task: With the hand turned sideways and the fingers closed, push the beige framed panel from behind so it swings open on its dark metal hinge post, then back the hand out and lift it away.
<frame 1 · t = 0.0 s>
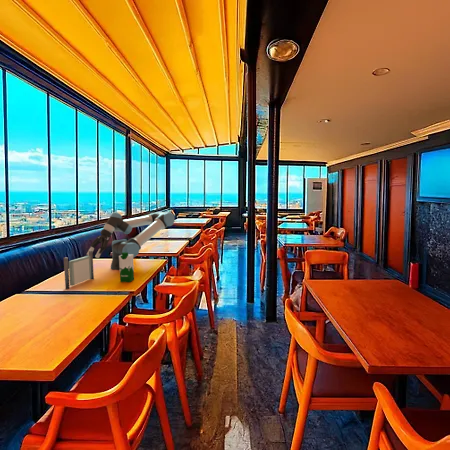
hand: (92, 256, 243), 15 cm above the table, tool tilted 35°, fingers open, 13 cm apart
beige framed panel: (80, 270, 227), point 9 cm above the table, hinge at 0.0°
milk carton: (127, 281, 233), on the table
gate posts: (92, 279, 239), on the table
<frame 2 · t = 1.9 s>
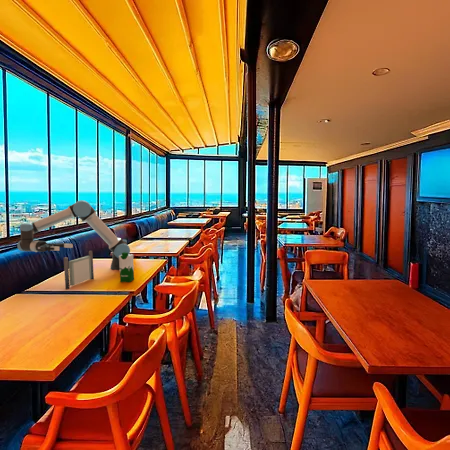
hand: (65, 247, 228), 24 cm above the table, tool horizontal, fingers open, 12 cm apart
nothing on the table moved.
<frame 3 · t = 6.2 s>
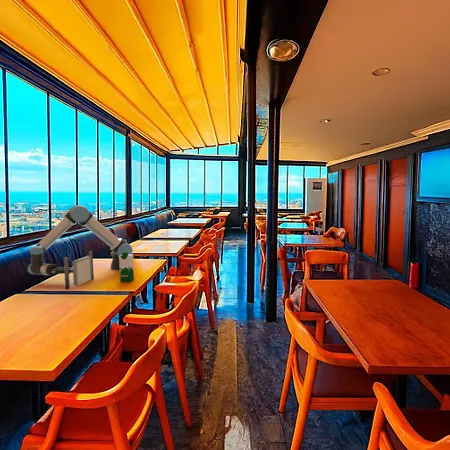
hand: (79, 271, 225), 9 cm above the table, tool horizontal, fingers closed
beige framed panel: (82, 270, 227), point 9 cm above the table, hinge at 7.7°, touching gripper
everything else where it was.
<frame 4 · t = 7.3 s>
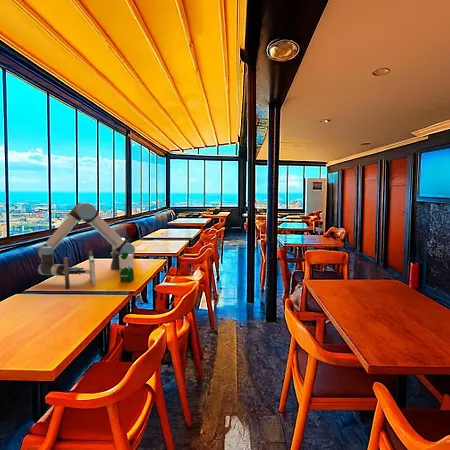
hand: (90, 271, 223), 9 cm above the table, tool horizontal, fingers closed
beige framed panel: (92, 269, 228), point 9 cm above the table, hinge at 38.4°, touching gripper
everything else where it was.
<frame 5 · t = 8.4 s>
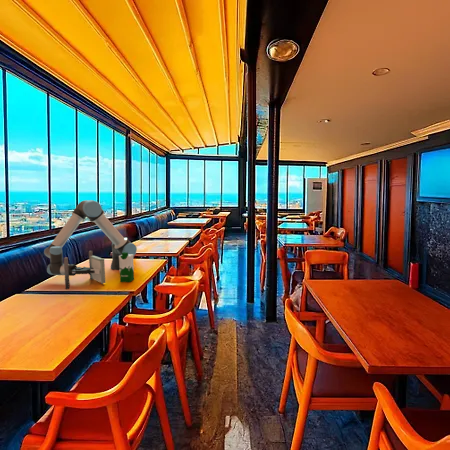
hand: (99, 271, 222), 9 cm above the table, tool horizontal, fingers closed
beige framed panel: (97, 269, 230), point 9 cm above the table, hinge at 55.6°, touching gripper
everything else where it was.
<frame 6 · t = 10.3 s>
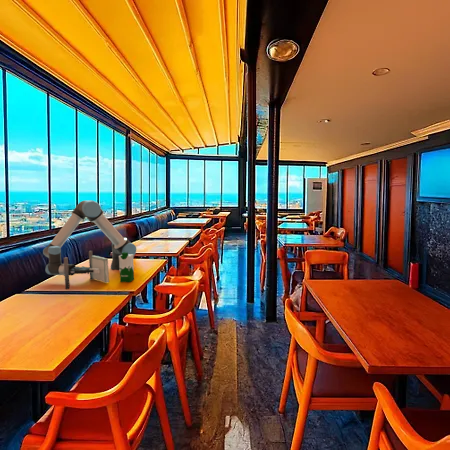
hand: (98, 271, 223), 9 cm above the table, tool horizontal, fingers closed
beige framed panel: (99, 268, 231), point 9 cm above the table, hinge at 62.3°
everything else where it was.
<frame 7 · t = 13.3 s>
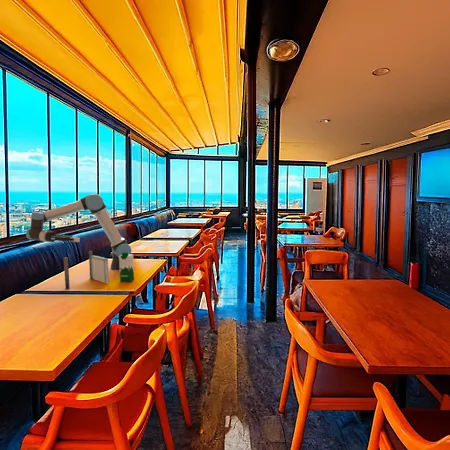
hand: (78, 239, 228), 29 cm above the table, tool horizontal, fingers closed
nothing on the table moved.
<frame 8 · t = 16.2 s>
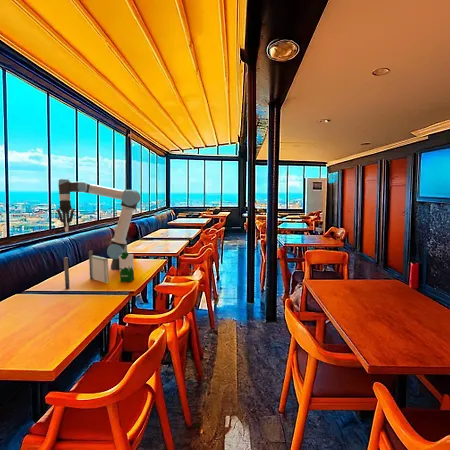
hand: (66, 231, 254), 32 cm above the table, tool pointing down, fingers closed
nothing on the table moved.
at the end: beige framed panel at +62° (first picture: +0°); milk carton moved 0.2 cm from its start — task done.
